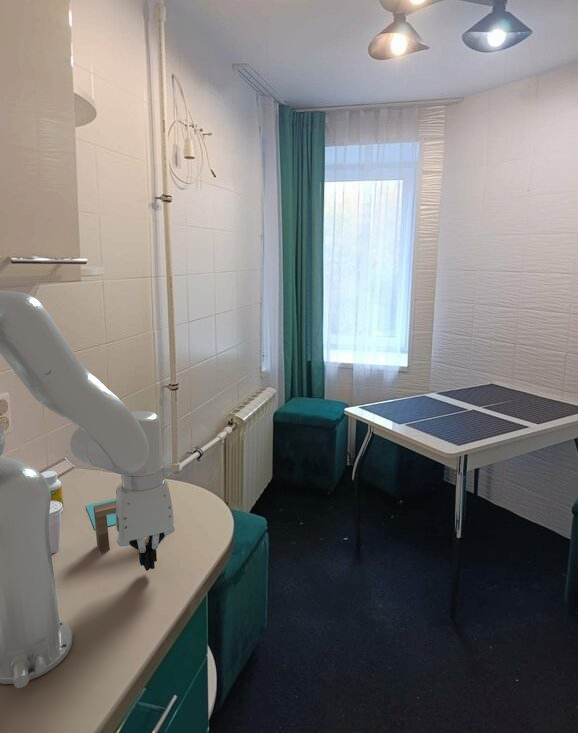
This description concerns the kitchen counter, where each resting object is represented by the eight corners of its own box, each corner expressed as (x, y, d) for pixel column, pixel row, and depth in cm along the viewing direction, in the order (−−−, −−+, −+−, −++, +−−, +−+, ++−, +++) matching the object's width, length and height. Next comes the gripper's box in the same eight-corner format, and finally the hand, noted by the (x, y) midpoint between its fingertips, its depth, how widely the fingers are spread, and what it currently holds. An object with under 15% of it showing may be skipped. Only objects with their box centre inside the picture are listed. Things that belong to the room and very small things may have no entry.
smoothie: (29, 550, 109) (21, 488, 106) (59, 538, 114) (52, 478, 111) (41, 562, 105) (33, 498, 102) (72, 548, 110) (65, 487, 107)
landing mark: (152, 515, 123) (152, 514, 123) (95, 529, 117) (95, 529, 117) (138, 493, 134) (138, 493, 134) (85, 506, 128) (85, 505, 128)
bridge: (167, 533, 115) (165, 495, 113) (99, 552, 108) (95, 512, 106) (164, 527, 118) (161, 490, 116) (97, 545, 111) (93, 506, 109)
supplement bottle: (47, 519, 122) (42, 481, 120) (35, 512, 125) (30, 475, 123) (68, 510, 126) (64, 473, 124) (56, 504, 129) (52, 467, 127)
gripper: (175, 463, 103) (179, 546, 107) (97, 478, 96) (104, 567, 100) (187, 476, 97) (191, 564, 101) (104, 494, 90) (112, 588, 94)
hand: (148, 566), depth 100 cm, fingers closed
